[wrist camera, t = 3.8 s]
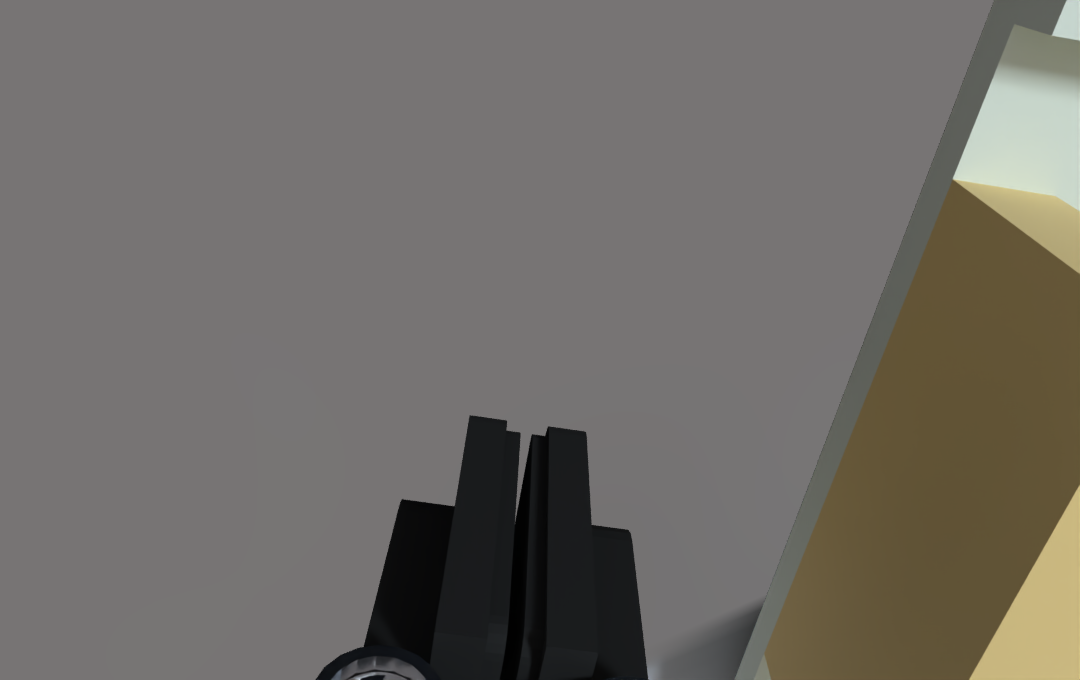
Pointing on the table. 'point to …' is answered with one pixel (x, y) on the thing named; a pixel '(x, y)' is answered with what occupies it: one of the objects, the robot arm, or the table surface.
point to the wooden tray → (959, 408)
